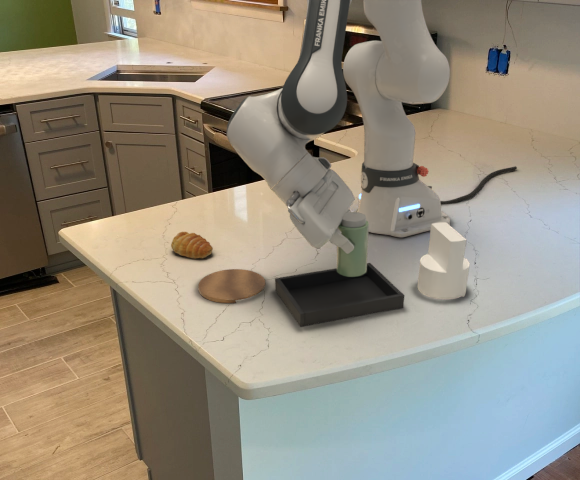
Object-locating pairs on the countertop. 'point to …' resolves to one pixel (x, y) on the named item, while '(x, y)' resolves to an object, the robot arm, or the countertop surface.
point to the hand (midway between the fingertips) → (356, 242)
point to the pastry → (191, 245)
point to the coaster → (231, 285)
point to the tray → (337, 295)
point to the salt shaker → (357, 231)
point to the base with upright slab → (444, 264)
